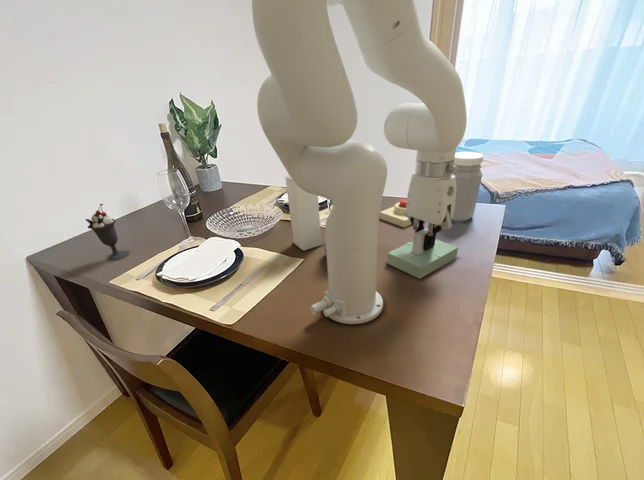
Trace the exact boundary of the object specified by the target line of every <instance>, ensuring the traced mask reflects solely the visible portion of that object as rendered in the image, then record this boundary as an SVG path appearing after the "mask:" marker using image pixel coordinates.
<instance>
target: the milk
mask: <svg viewBox="0 0 644 480" xmlns="http://www.w3.org/2000/svg"><path fill="white" fill-rule="evenodd" d="M284 178H285V185H286V194H287V202H288V208H289V218H290V224H291V225H290V226H291V233H292V239H293V244H294V245H295V246H296V247H298V248H299V249H300V250H301V251H302V252H303V251H307V250H311V249H314V248H317V247H321V246H322V232H321V231H322V230H321V220H320V219H321V217H320V204H319V203H320V202H319V196H318V195H314V194H311V193H308V192H306V191H304V190H302V189H301V188H299V187H298V186H297V185H296V183H295V182H294V181H293V180H292V178H291V177H290V175H289V174H288V173H287V174H286V175H285V177H284Z"/></svg>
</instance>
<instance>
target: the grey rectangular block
mask: <svg viewBox="0 0 644 480" xmlns="http://www.w3.org/2000/svg"><path fill="white" fill-rule="evenodd" d="M424 228H425V229H423V230H420V231H418V232H416V233H415V232H414V233H413V239H412V241H413V247H412V253H414V254H417V255H420V254H422V253H424V252H426V251H424V250H423V247H424V239H425V235H427V232H428V226H427V227H424Z"/></svg>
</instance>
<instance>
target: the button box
mask: <svg viewBox="0 0 644 480" xmlns="http://www.w3.org/2000/svg"><path fill="white" fill-rule="evenodd" d="M405 212H406V208H403V207H400V201H398V202H395V204H394V206H391V207H389V208H387V209H384V210H382V211H381V210H380V214H379V220H383V221H385V222H388V223H390V224H393V225H396V226H398V227H401V228H407V227H408V226H411V225H412V223H411V221H410V220H409V219H408V218H407V217H406V216H405Z"/></svg>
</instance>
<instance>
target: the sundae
mask: <svg viewBox="0 0 644 480" xmlns="http://www.w3.org/2000/svg"><path fill="white" fill-rule="evenodd" d="M103 206H104V204H103V203H100V204H99V207H98V210H96V211H95V213H94V214H92V216H91V218H90V219H89V218H85V221H86V223H88V224H89V225H88V226H87V229H90V230H92V231H93V232H94V233H95V235H96V237H97V238H98V240H99V241H100V242H101V243H102V244H103V245H105V246H108V247H110V249H111V251H112V254H110V255H109V256H108V257H107V259H108V260H109V261H117V260H120V259H123V258H124V257H126V256H127V255H128V254H127V252H126V251H119V250H118V248H117V246H116V244H117V243H118V241H119V239H118V233H117V231H116V228H115V223H116V222H117V221H116V220H115V219H114V218H112V217H110V216H109V215H107V212H106V211H103V208H102V207H103Z"/></svg>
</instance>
